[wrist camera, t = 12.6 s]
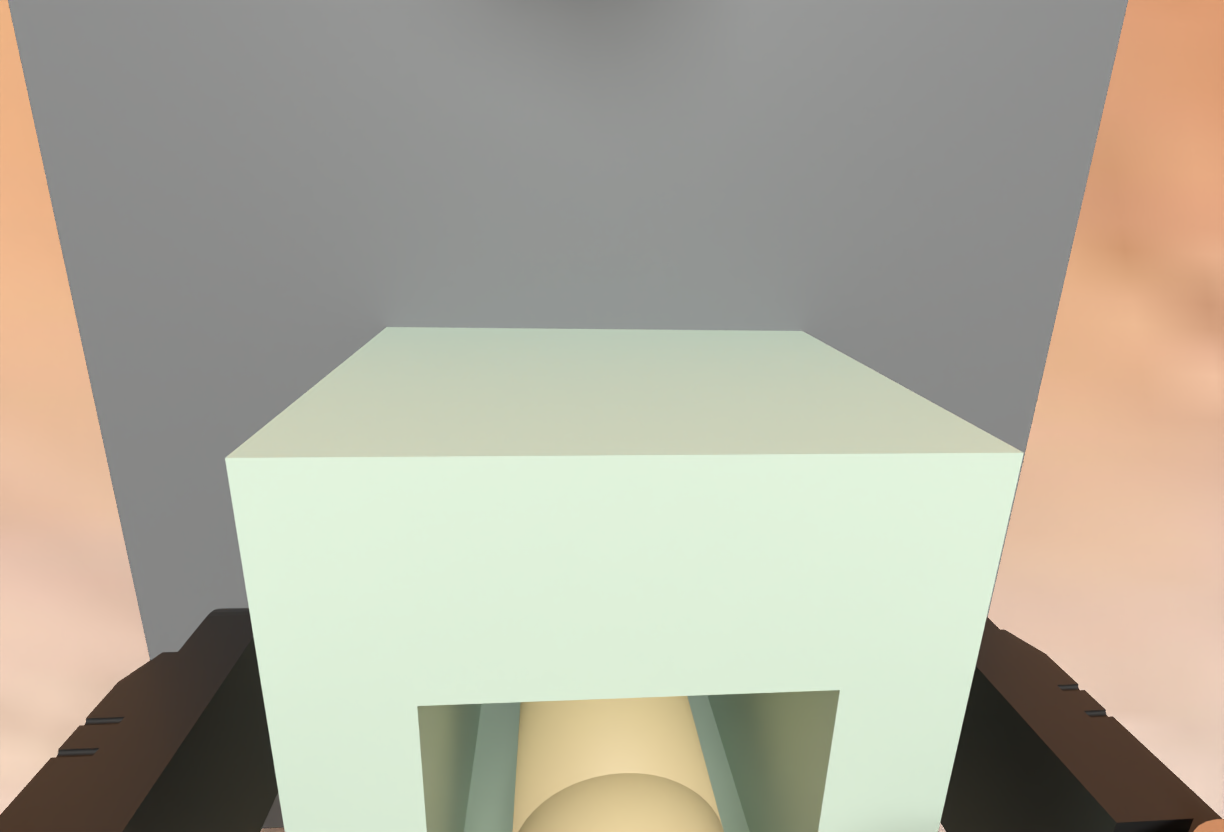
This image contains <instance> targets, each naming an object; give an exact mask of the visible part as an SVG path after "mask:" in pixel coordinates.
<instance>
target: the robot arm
mask: <svg viewBox="0 0 1224 832" xmlns="http://www.w3.org/2000/svg"><path fill="white" fill-rule="evenodd" d="M1105 711H1106V710H1105V709H1104V708H1103V707H1102V706H1101V705H1100V704H1099V703H1098V702H1097V701H1096V700H1094V699H1093V698H1092V697H1091V696H1090V695H1089V694H1088V693H1087V692H1086V691H1085V690H1079V688H1078V684H1077V683H1076V682H1075V681H1074V680H1073V679H1072V678H1071V677H1070V676H1069V675H1068V674H1067V673H1066V672H1064V671H1063V670H1062V669H1061V668H1060V667H1059V666H1058V665H1057V664H1056V663H1055V662H1054V661H1053V660H1052V659H1051V658H1049V657H1048V656H1047V655H1046V654H1045V653H1043V652H1041V651H1040V650H1038V649H1036V648H1035V647H1033V646H1031V645H1030V644H1028V643H1026V642H1024V641H1023V640H1021V639H1019V638H1018V637H1016V636H1014V635H1013V634H1011V633H1009V632H1008V631H1006V630H1000V629H999V628H998V627H997V626H996V625H995V624H994V623H993V622H992V621H991V620H990V619H989V618H988V617H987V618H986V622H985V627H984V631H983V635H982V640H981V644H980V649H979V653H978V658H977V662H976V666H975V671H974V675H973V680H972V684H971V688H970V693H969V697H968V702H967V706H966V711H965V715H964V719H963V724H962V728H961V733H960V737H959V742H958V746H957V750H956V755H955V759H954V764H953V768H952V772H951V777H950V781H949V786H948V790H947V795H946V799H945V803H944V808H943V812H942V817H941V821H940V822H941V824H942V825H943V827H944V829H945V830H946V832H1224V819H1222V818H1221V817H1220V816H1219V815H1218V814H1217V813H1216V812H1215V811H1213V810H1212V809H1211V808H1210V807H1209V806H1208V805H1207V804H1206V803H1205V802H1204V801H1203V800H1202V799H1201V798H1200V797H1198V796H1197V795H1196V794H1195V793H1194V792H1193V791H1192V790H1191V789H1190V788H1189V787H1188V786H1187V785H1186V784H1185V783H1183V782H1182V781H1181V780H1180V779H1179V778H1178V777H1177V776H1176V775H1175V774H1174V773H1173V772H1172V771H1171V770H1170V769H1168V768H1167V767H1166V766H1165V765H1164V764H1163V763H1162V762H1161V761H1160V760H1159V759H1158V758H1157V757H1156V756H1154V755H1153V754H1152V753H1151V752H1150V751H1149V750H1148V749H1147V748H1146V747H1145V746H1144V745H1143V744H1142V743H1141V742H1139V741H1138V740H1137V739H1136V738H1135V737H1134V736H1133V735H1132V734H1131V733H1130V732H1129V731H1128V730H1127V729H1126V728H1124V727H1123V726H1122V725H1121V724H1120V723H1119V722H1118V721H1117V720H1116V719H1115V718H1114V717H1108V716H1107V715H1106V712H1105ZM277 794H278V786H277V780H276V774H275V768H274V761H273V755H272V749H271V743H270V736H269V730H268V724H267V718H266V711H265V705H264V699H263V693H262V686H261V680H260V674H259V668H258V661H257V655H256V649H255V643H254V636H253V630H252V624H251V618H250V611H249V608H222V609H215V610H213V611H212V612H210V613H209V614H208V615H207V617H206V618H205V619H204V620H203V621H202V623H201V624H200V625H199V626H198V628H197V629H196V630H195V631H194V633H193V634H192V635H191V636H190V637H189V639H188V640H187V641H186V642H185V644H184V645H183V646H182V647H181V648H180V650H179V651H178V652H162V653H161V654H159V655H158V656H156V657H155V658H153V659H152V660H150V661H149V662H147V663H146V664H144V665H143V666H141V667H140V668H139V669H137V670H136V671H134V672H133V673H131V674H130V675H128V676H127V677H125V678H124V679H122V680H121V681H119V682H118V683H117V684H116V685H115V686H114V687H113V689H112V690H111V691H110V692H109V693H108V694H107V695H106V696H105V698H104V699H103V700H102V701H101V702H100V703H99V704H98V705H97V707H96V708H95V709H94V710H93V711H92V712H91V713H90V714H89V716H88V717H87V718H86V723H85V725H84V726H79V727H78V728H77V729H76V730H75V731H74V732H73V734H72V735H71V736H70V737H69V738H68V739H67V740H66V742H65V743H64V744H63V745H62V746H61V747H60V748H59V749H58V755H57V757H56V758H50V760H49V761H48V762H47V763H46V764H45V765H44V766H43V767H42V769H41V770H40V771H39V772H38V773H37V774H36V775H35V776H34V778H33V779H32V780H31V781H30V782H29V783H28V784H27V785H26V787H25V788H24V789H23V790H22V791H21V792H20V793H19V794H18V796H17V797H16V798H15V799H14V800H13V801H12V802H11V804H10V805H9V806H8V807H7V808H6V809H5V810H4V811H3V813H2V814H1V815H0V832H260V831H261V829H262V827H263V824H264V822H265V820H266V818H267V816H268V814H269V811H270V809H271V807H272V805H273V803H274V800H275V798H276V796H277Z"/></svg>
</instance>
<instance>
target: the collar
mask: <svg viewBox="0 0 1224 832" xmlns="http://www.w3.org/2000/svg"><path fill="white" fill-rule="evenodd" d="M1023 454H1024V453H1023V452H1022V451H1020V450H1018V449H1016V448H1014V447H1013V446H1011V445H1009V444H1007V443H1005V442H1003V441H1002V440H1000V439H998V438H996V437H994V436H993V435H991V434H989V433H987V432H985V431H983V430H982V429H980V428H978V427H976V426H974V425H972V424H971V423H969V422H967V421H965V420H963V419H962V418H960V417H958V416H956V415H954V414H952V413H951V412H949V411H947V410H945V409H943V408H942V407H940V406H938V405H936V404H934V403H932V402H931V401H929V400H927V399H925V398H923V397H922V396H920V395H918V394H916V393H914V392H912V391H911V390H909V389H907V388H905V387H903V386H902V385H900V384H898V383H896V382H894V381H892V380H891V379H889V378H887V377H885V376H883V375H882V374H880V373H878V372H876V371H874V370H872V369H871V368H869V367H867V366H865V365H863V364H862V363H860V362H858V361H856V360H854V359H852V358H851V357H849V356H847V355H845V354H843V353H842V352H840V351H838V350H836V349H834V348H832V347H831V346H829V345H827V344H825V343H823V342H822V341H820V340H818V339H816V338H814V337H812V336H811V335H809V334H807V333H805V332H803V331H749V330H645V329H541V328H437V327H386V328H385V329H384V330H382V331H381V332H380V333H379V334H377V335H376V336H375V337H374V338H373V339H371V340H370V341H369V342H368V343H366V344H365V345H364V346H363V347H361V348H360V349H359V350H358V351H356V352H355V353H354V354H353V355H352V356H350V357H349V358H348V359H347V360H345V361H344V362H343V363H342V364H340V365H339V366H338V367H337V368H335V369H334V370H333V371H332V372H331V373H329V374H328V375H327V376H326V377H324V378H323V379H322V380H321V381H319V382H318V383H317V384H316V385H314V386H313V387H312V388H311V389H310V390H308V391H307V392H306V393H305V394H303V395H302V396H301V397H300V398H298V399H297V400H296V401H295V402H293V403H292V404H291V405H290V406H289V407H287V408H286V409H285V410H284V411H282V412H281V413H280V414H279V415H277V416H276V417H275V418H274V419H272V420H271V421H270V422H269V423H268V424H266V425H265V426H264V427H263V428H261V429H260V430H259V431H258V432H256V433H255V434H254V435H253V436H251V437H250V438H249V439H248V440H247V441H245V442H244V443H243V444H242V445H240V446H239V447H238V448H237V449H235V450H234V451H233V452H232V453H230V454H229V455H228V456H227V457H226V458H225V461H226V468H227V474H228V480H229V486H230V493H231V499H232V505H233V511H234V518H235V524H236V530H237V536H238V543H239V549H240V555H241V561H242V568H243V574H244V580H245V586H246V593H247V599H248V605H249V611H250V618H251V624H252V630H253V636H254V643H255V649H256V655H257V661H258V668H259V674H260V680H261V686H262V693H263V699H264V705H265V711H266V718H267V724H268V730H269V736H270V743H271V749H272V755H273V761H274V768H275V774H276V780H277V786H278V793H279V799H280V805H281V811H282V818H283V824H284V830H285V832H512V830H513V814H514V798H515V782H516V766H517V750H518V733H519V717H520V702H537V701H564V700H590V699H617V698H643V697H670V696H687V697H688V700H689V704H690V708H691V711H692V715H693V719H694V723H695V726H696V730H697V734H698V737H699V741H700V745H701V749H702V752H703V756H704V760H705V763H706V767H707V771H708V775H709V778H710V782H711V786H712V789H713V793H714V797H715V801H716V804H717V808H718V812H719V815H720V819H721V823H722V827H723V830H724V832H938V830H939V826H940V821H941V817H942V812H943V808H944V803H945V799H946V795H947V790H948V786H949V781H950V777H951V772H952V768H953V764H954V759H955V755H956V750H957V746H958V742H959V737H960V733H961V728H962V724H963V719H964V715H965V711H966V706H967V702H968V697H969V693H970V688H971V684H972V680H973V675H974V671H975V666H976V662H977V658H978V653H979V649H980V644H981V640H982V635H983V631H984V627H985V622H986V618H987V613H988V609H989V604H990V600H991V596H992V591H993V587H994V582H995V578H996V573H997V569H998V565H999V560H1000V556H1001V551H1002V547H1003V543H1004V538H1005V534H1006V529H1007V525H1008V520H1009V516H1010V512H1011V507H1012V503H1013V498H1014V494H1015V489H1016V485H1017V481H1018V476H1019V472H1020V467H1021V463H1022V459H1023Z"/></svg>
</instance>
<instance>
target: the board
mask: <svg viewBox="0 0 1224 832" xmlns="http://www.w3.org/2000/svg"><path fill="white" fill-rule="evenodd" d="M8 3H9V8H10V12H11V17H12V22H13V26H14V31H15V35H16V40H17V45H18V49H19V54H20V59H21V63H22V68H23V73H24V77H25V82H26V86H27V91H28V96H29V100H30V105H31V110H32V114H33V119H34V124H35V128H36V133H37V137H38V142H39V147H40V151H41V156H42V161H43V165H44V170H45V174H46V179H47V184H48V188H49V193H50V198H51V202H52V207H53V212H54V216H55V221H56V225H57V230H58V235H59V239H60V244H61V249H62V253H63V258H64V263H65V267H66V272H67V276H68V281H69V286H70V290H71V295H72V300H73V304H74V309H75V314H76V318H77V323H78V327H79V332H80V337H81V341H82V346H83V351H84V355H85V360H86V365H87V369H88V374H89V378H90V383H91V388H92V392H93V397H94V402H95V406H96V411H97V415H98V420H99V425H100V429H101V434H102V439H103V443H104V448H105V453H106V457H107V462H108V466H109V471H110V476H111V480H112V485H113V490H114V494H115V499H116V504H117V508H118V513H119V517H120V522H121V527H122V531H123V536H124V541H125V545H126V550H127V555H128V559H129V564H130V568H131V573H132V578H133V582H134V587H135V592H136V596H137V601H138V606H139V610H140V615H141V619H142V624H143V629H144V633H145V638H146V643H147V647H148V652H149V657H150V660H152V659H153V658H155V657H156V656H158V655H159V654H161V653H162V652H178V651H179V650H180V648H181V647H182V646H183V645H184V644H185V642H186V641H187V640H188V639H189V637H190V636H191V635H192V634H193V633H194V631H195V630H196V629H197V628H198V626H199V625H200V624H201V623H202V621H203V620H204V619H205V618H206V617H207V615H208V614H209V613H210V612H212V611H213V610H215V609H222V608H249V605H248V599H247V593H246V586H245V580H244V574H243V568H242V561H241V555H240V549H239V543H238V536H237V530H236V524H235V518H234V511H233V505H232V499H231V493H230V486H229V480H228V474H227V468H226V461H225V458H226V457H227V456H228V455H229V454H230V453H232V452H233V451H234V450H235V449H237V448H238V447H239V446H240V445H242V444H243V443H244V442H245V441H247V440H248V439H249V438H250V437H251V436H253V435H254V434H255V433H256V432H258V431H259V430H260V429H261V428H263V427H264V426H265V425H266V424H268V423H269V422H270V421H271V420H272V419H274V418H275V417H276V416H277V415H279V414H280V413H281V412H282V411H284V410H285V409H286V408H287V407H289V406H290V405H291V404H292V403H293V402H295V401H296V400H297V399H298V398H300V397H301V396H302V395H303V394H305V393H306V392H307V391H308V390H310V389H311V388H312V387H313V386H314V385H316V384H317V383H318V382H319V381H321V380H322V379H323V378H324V377H326V376H327V375H328V374H329V373H331V372H332V371H333V370H334V369H335V368H337V367H338V366H339V365H340V364H342V363H343V362H344V361H345V360H347V359H348V358H349V357H350V356H352V355H353V354H354V353H355V352H356V351H358V350H359V349H360V348H361V347H363V346H364V345H365V344H366V343H368V342H369V341H370V340H371V339H373V338H374V337H375V336H376V335H377V334H379V333H380V332H381V331H382V330H384V329H385V328H386V327H437V328H541V329H645V330H749V331H803V332H805V333H807V334H809V335H811V336H812V337H814V338H816V339H818V340H820V341H822V342H823V343H825V344H827V345H829V346H831V347H832V348H834V349H836V350H838V351H840V352H842V353H843V354H845V355H847V356H849V357H851V358H852V359H854V360H856V361H858V362H860V363H862V364H863V365H865V366H867V367H869V368H871V369H872V370H874V371H876V372H878V373H880V374H882V375H883V376H885V377H887V378H889V379H891V380H892V381H894V382H896V383H898V384H900V385H902V386H903V387H905V388H907V389H909V390H911V391H912V392H914V393H916V394H918V395H920V396H922V397H923V398H925V399H927V400H929V401H931V402H932V403H934V404H936V405H938V406H940V407H942V408H943V409H945V410H947V411H949V412H951V413H952V414H954V415H956V416H958V417H960V418H962V419H963V420H965V421H967V422H969V423H971V424H972V425H974V426H976V427H978V428H980V429H982V430H983V431H985V432H987V433H989V434H991V435H993V436H994V437H996V438H998V439H1000V440H1002V441H1003V442H1005V443H1007V444H1009V445H1011V446H1013V447H1014V448H1016V449H1018V450H1020V451H1022V452H1023V453H1024V454H1023V459H1024V455H1025V450H1026V446H1027V442H1028V437H1029V433H1030V428H1031V424H1032V420H1033V415H1034V411H1035V406H1036V402H1037V398H1038V393H1039V389H1040V385H1041V380H1042V376H1043V371H1044V367H1045V363H1046V358H1047V354H1048V349H1049V345H1050V341H1051V336H1052V332H1053V328H1054V323H1055V319H1056V314H1057V310H1058V306H1059V301H1060V297H1061V292H1062V288H1063V284H1064V279H1065V275H1066V271H1067V266H1068V262H1069V257H1070V253H1071V249H1072V244H1073V240H1074V235H1075V231H1076V227H1077V222H1078V218H1079V214H1080V209H1081V205H1082V200H1083V196H1084V192H1085V187H1086V183H1087V178H1088V174H1089V170H1090V165H1091V161H1092V157H1093V152H1094V148H1095V143H1096V139H1097V135H1098V130H1099V126H1100V121H1101V117H1102V113H1103V108H1104V104H1105V99H1106V95H1107V91H1108V86H1109V82H1110V78H1111V73H1112V69H1113V64H1114V60H1115V56H1116V51H1117V47H1118V42H1119V38H1120V34H1121V29H1122V25H1123V21H1124V16H1125V12H1126V7H1127V3H1128V0H8ZM1023 459H1022V463H1023ZM1022 463H1021V467H1020V472H1021V468H1022ZM1020 472H1019V476H1018V481H1019V477H1020ZM1018 481H1017V485H1018ZM1017 485H1016V489H1015V494H1016V490H1017ZM1015 494H1014V498H1013V503H1014V499H1015ZM1013 503H1012V507H1013ZM1012 507H1011V512H1012ZM1011 512H1010V516H1011ZM1010 516H1009V520H1010ZM1009 520H1008V525H1009ZM1008 525H1007V529H1008ZM1007 529H1006V534H1007ZM1006 534H1005V538H1006ZM1005 538H1004V542H1005ZM1003 547H1004V543H1003ZM1003 547H1002V551H1003ZM1002 551H1001V556H1002ZM1001 556H1000V560H1001ZM1000 560H999V564H1000ZM998 569H999V565H998ZM998 569H997V573H998ZM997 573H996V578H997ZM996 578H995V582H996ZM995 582H994V586H995ZM993 591H994V587H993ZM993 591H992V595H993ZM991 599H992V596H991ZM990 604H991V600H990ZM990 604H989V608H990ZM988 613H989V609H988ZM988 613H987V617H988ZM280 827H284V824H283V818H282V811H281V805H280V799H279V793H278V794H277V796H276V798H275V800H274V803H273V805H272V807H271V809H270V811H269V814H268V816H267V818H266V820H265V822H264V824H263V827H262V828H280ZM512 832H724V830H723V827H722V823H721V819H720V815H719V812H718V808H717V804H716V801H715V797H714V793H713V789H712V786H711V782H710V778H709V775H708V771H707V767H706V763H705V760H704V756H703V752H702V749H701V745H700V741H699V737H698V734H697V730H696V726H695V723H694V719H693V715H692V711H691V708H690V704H689V700H688V697H687V696H670V697H643V698H617V699H590V700H564V701H537V702H520V717H519V733H518V750H517V766H516V782H515V798H514V814H513V830H512Z"/></svg>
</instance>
